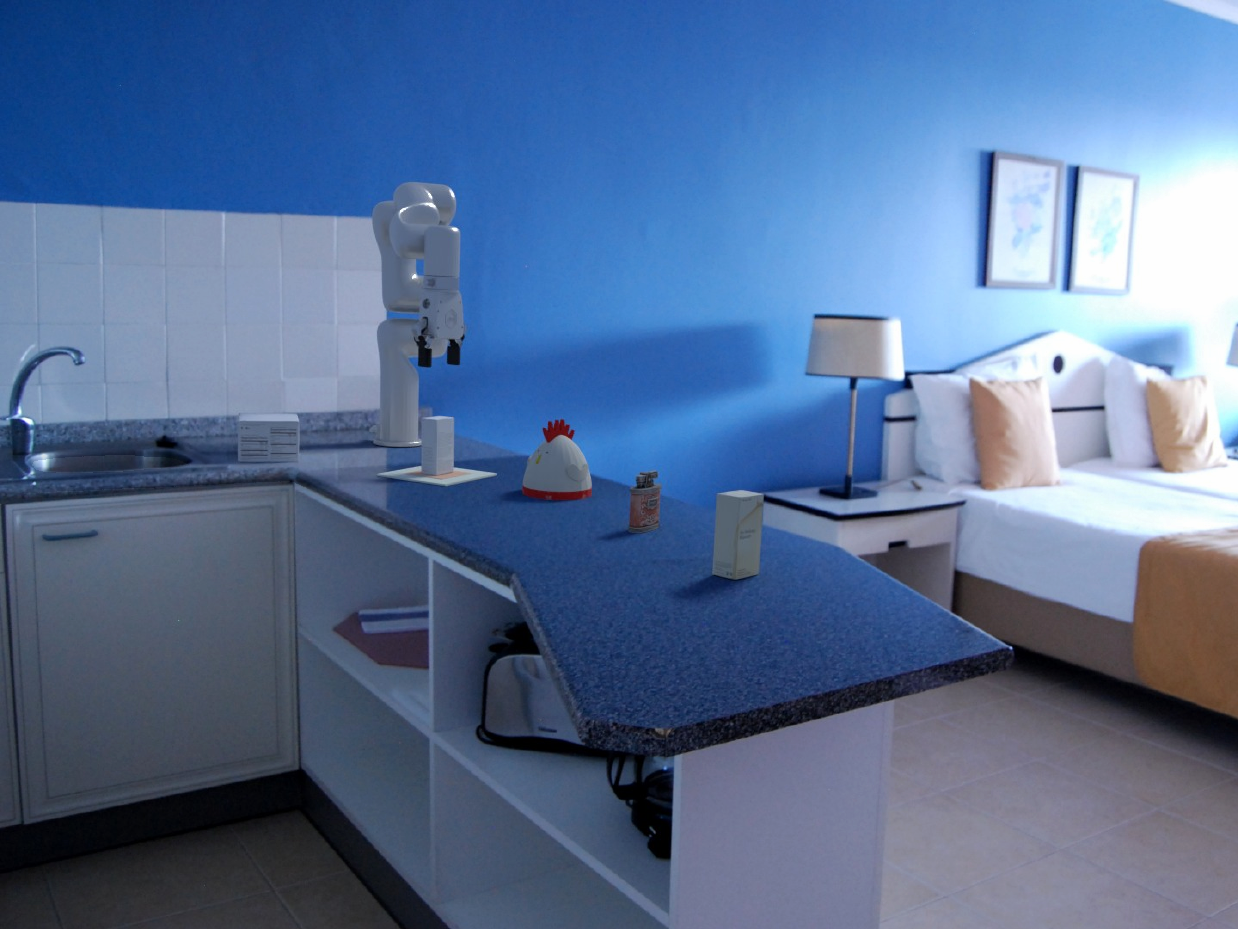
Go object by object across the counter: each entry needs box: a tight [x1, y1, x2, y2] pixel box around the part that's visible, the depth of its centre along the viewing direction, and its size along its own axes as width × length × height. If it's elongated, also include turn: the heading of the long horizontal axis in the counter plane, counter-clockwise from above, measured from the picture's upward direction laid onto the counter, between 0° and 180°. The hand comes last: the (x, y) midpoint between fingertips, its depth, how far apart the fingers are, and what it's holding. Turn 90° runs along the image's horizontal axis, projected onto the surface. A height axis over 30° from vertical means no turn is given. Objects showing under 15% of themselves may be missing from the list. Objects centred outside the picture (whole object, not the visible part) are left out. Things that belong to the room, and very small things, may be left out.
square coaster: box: [376, 465, 498, 487], centre depth 229 cm, size 18×18×1 cm
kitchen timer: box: [521, 418, 593, 501], centre depth 214 cm, size 14×14×15 cm
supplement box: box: [237, 412, 300, 463], centre depth 244 cm, size 17×13×9 cm
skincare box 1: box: [420, 415, 455, 476], centre depth 228 cm, size 6×4×12 cm
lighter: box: [627, 470, 663, 534], centre depth 185 cm, size 8×3×10 cm, turn 148°
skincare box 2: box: [711, 489, 765, 580], centre depth 156 cm, size 6×4×12 cm
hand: (439, 365), depth 230 cm, fingers open, 9 cm apart
